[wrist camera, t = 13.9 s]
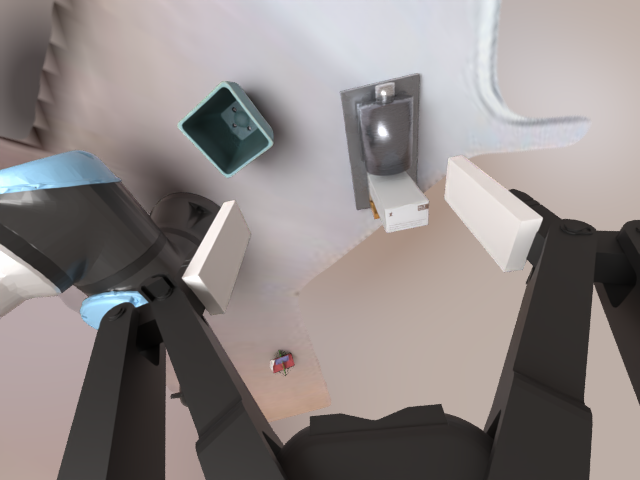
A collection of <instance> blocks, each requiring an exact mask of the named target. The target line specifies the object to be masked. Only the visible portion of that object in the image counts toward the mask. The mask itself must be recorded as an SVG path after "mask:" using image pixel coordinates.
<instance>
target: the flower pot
mask: <svg viewBox="0 0 640 480" xmlns="http://www.w3.org/2000/svg"><path fill="white" fill-rule="evenodd" d="M233 108H236V111H233ZM233 124H236V127H234V126H233ZM177 126H178V128H179V130H180V131H181V132H182V133H183V134H184V135H185V136H186V137H187V138H188V139H189V140H190V141H191V142H192V143H193V144H194V145H195V146H196V147H197V148H198V149H199V150H200V151H201V152H202V154H203V155H204V156H205V157H206V158H207V159H208V160H209V161H210V162H211V163H212V164H213V165H214V166H215V167H216V168H217V169H218V170H219V171H220V173H221V174H222V175H224V176H225V177H226V178H230V177H232V176H233V175H235V174H236V173H237V172H238V171H240V170H241V169H242V168H244V167H245V166H246V165H248V164H249V163H250V162H252V161H253V160H254V159H256V158H257V157H258V156H260V155H261V154H263V153H264V152H265V151H267V150H268V149H270V148H271V147H272V146H273V140H274V134H273V130H272V128H271V127H270V125H269V124H268V123H267V122H266V120H265V119H264V118H263V116H262V115H261V114H260V112H259V111H258V110H257V108H256V107H255V106H254V104H253V103H252V102H251V100H250V99H249V97H248V96H247V95H246V93H245V92H244V91H243V89H242V88H241V87H240V86H239V85H238V84H237V83H235V82H228V81H222V82H221V83H220V84H219V85H218V86H217V87H216V88H215V89H214V90H213V91H212V92H211V93H210V94H209V95H208V96H206V98H205V99H203V100H202V101H201V102H200V103H199V104H198V105H197V106H196V107H195V108H194V109H193V110H192V111H191V112H190V113H188V114H187V115H186V116H185V117H184V118H183V119H182V120H181V121H179V123H178V125H177ZM248 127H251V130H249V129H248Z"/></svg>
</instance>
